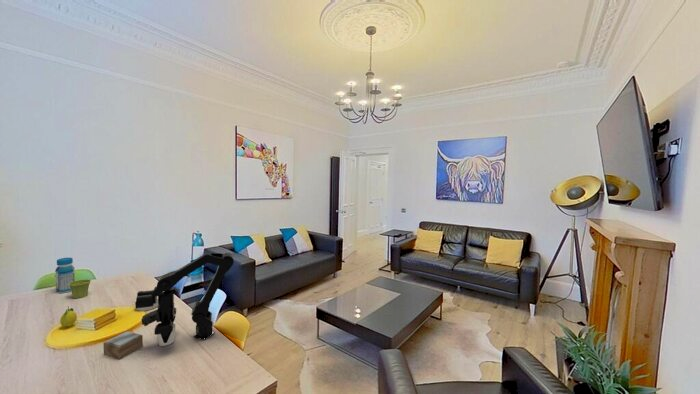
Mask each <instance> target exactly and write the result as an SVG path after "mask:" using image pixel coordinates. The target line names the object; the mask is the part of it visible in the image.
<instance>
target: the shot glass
mask: <svg viewBox="0 0 700 394" xmlns="http://www.w3.org/2000/svg"><path fill="white" fill-rule="evenodd" d="M173 326H174V327H173V331H172V332H171V334H170V337H169V339H168V341H167V343H164V342H163V339H162V336H161V334H158V335H156V336H157V343H158V345H159V346H161V347H165V346H168V345H169V346H170V345H171V344H173V342H174V341H175V333H176V323H174V322H173Z"/></svg>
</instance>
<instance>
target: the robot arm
mask: <svg viewBox="0 0 700 394" xmlns="http://www.w3.org/2000/svg"><path fill="white" fill-rule="evenodd" d="M234 263H235V261H234V256H233V254H232V253H230V252H225V253H220V252H208V251H207V252H204V253H203V254H202V255H201V256H199V257H196V258H195V259H193V260H192V261H190V262H189V263H186V264H185V265H184V266H182V267H180V268H178V269H176V270H173V271H170V272H167V273H164V274H163V275H161V276H160V277H159V279H158V281H157V283H156V286H155V287H154V289H152V290H151V289H150V290H141V291H138V292H137V293H136V299H135V300H136V302H135V301H134V304H135V308H136V310H138V308H145V307H152V306H153V305H154V304H156V302H157V296H158V306H157V309H155V310H153V311H150V312H148V313H146V314H144V315H142V318H141V325H143V326H144V327H146V326H149V325H150V324H153V323H154V322H155V323H157V324H156V325H155V327H154V335H156V336H157V335H158V334H161V336H162V339H163V342H164V343H167V341H168V339H169V337H170V334H171V332H172V331H173V327H174V326H173V323H174V322H175V320H176V315H177V308H176V307H175V296H174V295H178V294H179V291H180V289H178V288H176V285H177V284H178V283H179V282H180V281H181V280H182V279H183V278H185V277H186V276H188V275H191V274H192V273H194V272H195V271H197V270H198V269H200V268H201V267H203V266H205V265H206V264H212V265H215V266H217V267H216V268H217V269H216V271H215V273H214V275H213V277H212V279H211V281H210V283H209V285H208V287H207V288H206V291H205V292H204V295H203V296H202V298H201V300H200V301H199V300H195V301H196V302H195V304H194V306H193V307H192V309H191V314H190V315H191V321H192V322H193V323H195V335H193V338H194V337H196V338H195V339H198V338H201V339H200V340H202V339H204V338H205V340H207V339H209V338H210V337H211V336H212V335H211V334H212V331H213V327H214V326H213V324H214V323H213V321H212V320H213V319H212V316H213V315H212V314H213V313H212V312H211V311H210V310H209V308H210V306H211V302H212V301H213V298H214V296H215V295H216V293H217V291H218V288H219V287H220V285H221V283H222V281H223V279H224V276H225V275H226V274H227V273H228V272H229V270H230V269H232V267H233V265H234ZM210 335H211V336H210ZM209 336H210V337H209ZM206 338H207V339H206Z"/></svg>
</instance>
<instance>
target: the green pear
mask: <svg viewBox="0 0 700 394" xmlns="http://www.w3.org/2000/svg"><path fill="white" fill-rule="evenodd" d="M77 320H78V316H77V313H76V312H75V311H74V308H73V307H71V308H70V306H68V305H67V309H65V312H64V313H62V315H61V316H60V320H59V321H60V325H61V326H62V327H69V326H70V327H71V326H72V325H73V324H75V323H76V322H75V321H77Z"/></svg>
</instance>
